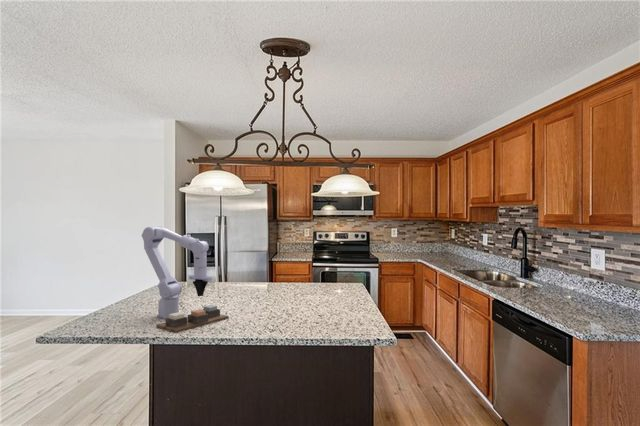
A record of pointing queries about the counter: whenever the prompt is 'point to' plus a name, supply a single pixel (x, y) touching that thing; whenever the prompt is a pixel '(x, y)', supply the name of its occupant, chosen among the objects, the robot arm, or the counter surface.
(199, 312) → the salmon pink cube
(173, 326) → the brown socket board
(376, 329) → the counter surface
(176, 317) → the cream cube
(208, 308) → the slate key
